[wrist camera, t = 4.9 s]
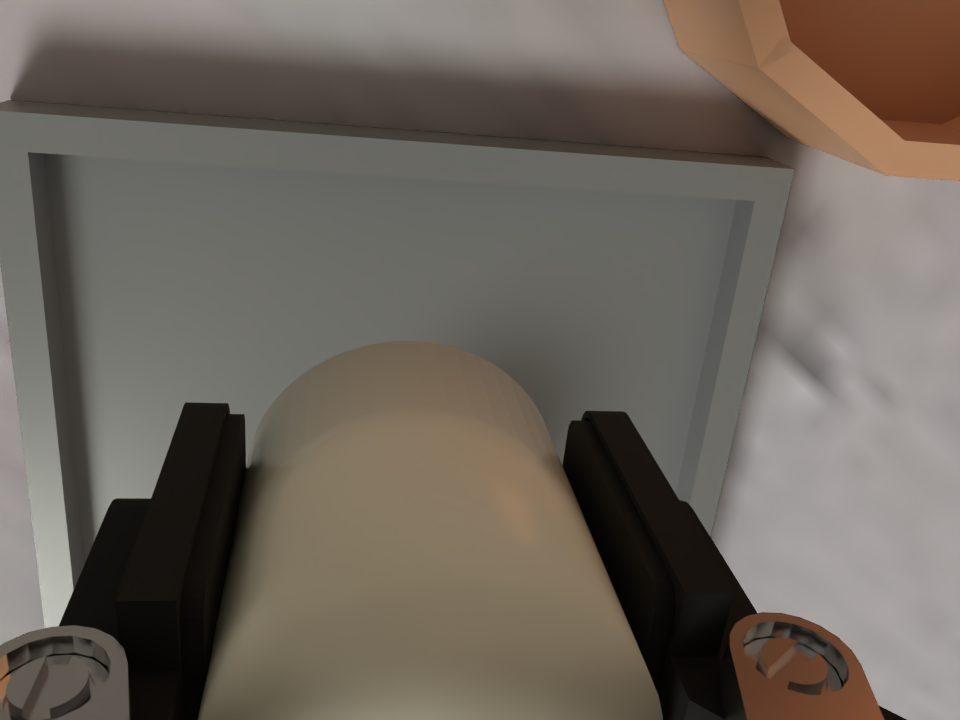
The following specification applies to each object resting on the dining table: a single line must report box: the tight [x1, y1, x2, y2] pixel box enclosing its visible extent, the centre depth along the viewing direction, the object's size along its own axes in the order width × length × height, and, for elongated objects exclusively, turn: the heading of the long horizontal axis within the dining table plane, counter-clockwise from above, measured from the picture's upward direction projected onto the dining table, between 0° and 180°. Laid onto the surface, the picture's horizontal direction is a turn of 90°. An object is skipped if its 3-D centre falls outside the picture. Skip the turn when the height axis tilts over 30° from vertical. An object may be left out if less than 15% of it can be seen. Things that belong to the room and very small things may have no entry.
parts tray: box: [0, 100, 795, 628], centre depth 23 cm, size 16×18×2 cm
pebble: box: [198, 341, 663, 720], centre depth 10 cm, size 4×4×5 cm
